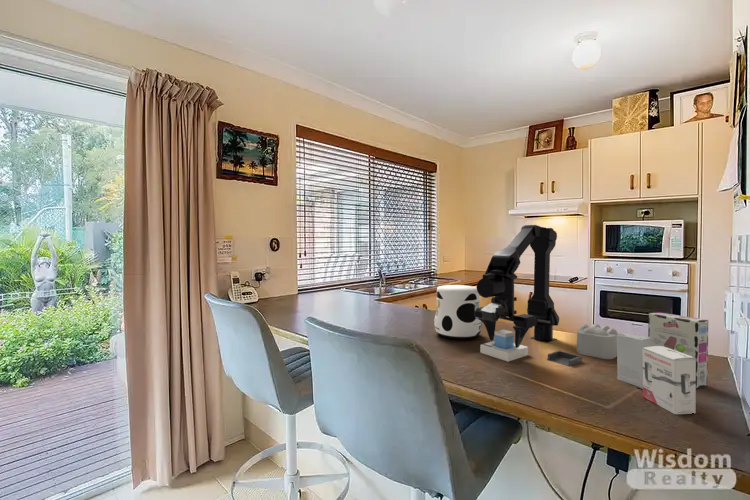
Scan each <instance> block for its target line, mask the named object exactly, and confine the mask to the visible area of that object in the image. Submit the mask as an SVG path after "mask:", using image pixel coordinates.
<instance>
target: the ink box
mask: <svg viewBox="0 0 750 500" xmlns="http://www.w3.org/2000/svg"><path fill="white" fill-rule="evenodd" d="M642 352H643V389H642V398H644V399H646V400H648V401H650V402H652V403H653V404H655V405H657V406H658V407H660V408H662V409H664V410H667V411H668V412H670V413H672V414H674V415H690V414H692V413H694V414H696V413H697V412H696V411H697V409H696V408H697V407H696V404H697V403H696V400H697V399H696V398H697V397H696V389H697V388H696V359H694V357H692V356H689V355H687V354H684V353H681V352H678V351H675V350H672V349H670V348H667V347H663V346H651V347H644V348H642Z"/></svg>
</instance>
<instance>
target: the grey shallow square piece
mask: <svg viewBox="0 0 750 500" xmlns="http://www.w3.org/2000/svg"><path fill="white" fill-rule="evenodd" d="M546 361H549V362H553V363H557V364H559V365H563V366H567V367H572V366H574V365H578V364H579V363H582V362H583V355H580V354H574V353H570V352H566V351H564V350H556V351H554V352H550V353H547V359H546Z"/></svg>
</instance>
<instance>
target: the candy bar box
mask: <svg viewBox="0 0 750 500" xmlns="http://www.w3.org/2000/svg"><path fill="white" fill-rule="evenodd" d="M647 319H648V324H647V325H648V327H647V328H648V331H647V332H648V335H647V337H648V338H651V346H663V347H667V348H670V349H672V350H675V351H678V352H681V353H684V354H687V355H689V356H692V357H694V359H696V389H699V388H704V387H707V386H708V369H709V368H708V366H709V365H708V363H709V362H708V361H709V360H708V359H709V357H708V356H709V354H708V353H709V350H708V349H709V319H703V318H698V317H693V316H692V317H691V316H686V315H678V314H673V313H667V312H661V311H659V312H658V311H656V312H650V313H648V318H647Z"/></svg>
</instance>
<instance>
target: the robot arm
mask: <svg viewBox="0 0 750 500" xmlns="http://www.w3.org/2000/svg"><path fill="white" fill-rule="evenodd" d="M557 239H558V234H557V231H555V230H554V228H552V227H544V226H540V225H537V224H526V225H523V226H522V227H521V228H520V231H519V232H518V233H517V235H516V236H515V237H514V238H513V239H512V240H511V241H510V243H509V244H508V246H506V247H504V248H502V249H499V250H497V251H496V252H495V253H494V254H493V255H492V257H491V259H490V260H489V263H488V266H487V267H486V271H485V272H484V273H483V274H482V278H481V279H480V280H478V282H477V283H476V287H477V291H478V293H479V297H482V298H484V299H486V298H490V300H491V301H490V303H488V304H487V305H485V306H482V307H480V306H479V308H477V309H476V311H475V317H479V318H478V319H479V320H481V321H482V323H483V325H484V326H485V329H486V332H487V335H488V337H489V338H488V339H489V340H490V342H492V341H495V331H496V326H497V321H498V320H499V319H500V320H501V319H502V320H505V321H510V322H513V325H514V326H512V328H513V330H514V343H515V347H516V348H518V347H519V346H520V345H522V342H523V340H524V337H525V336H526V334H527V332H528V331H529V330H530V329H531V328H533V327H534V329H533V336H532V337H530V339H531V340H535V341H539V342H542V343H551V342H554V341H557V340H558V339H557V338H553V335H554V328H553V327H554V326H559V323H560V316H559V315H558V313H557V311H556V309H555V303H554V302H555V301H553V299H552V297H551V296H550V272H551V271H550V270H551V269H550V266H551V265H550V263H551V253H552V252H553V251H554V248H555V247H556V242H557ZM529 247H530V248H531V249H532V251H533V253H534V264H533V265H534V267H533V268H534V269H533V271H534V272H533V273H534V275H533V295H532V296H531V298H528V300H527V309H526V313H527V314H526V313H522V314H518V315H517V313H518V312H517V310H516V309H515V302H516V301H517V299H518V297H516V296H515V279H518V276H517V275H516V274H515V272H516V271H517V270H518V268H519V267H520V265H521V256H522V255H523V254H524V252H525V251H526V250H527V249H528V248H529Z"/></svg>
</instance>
